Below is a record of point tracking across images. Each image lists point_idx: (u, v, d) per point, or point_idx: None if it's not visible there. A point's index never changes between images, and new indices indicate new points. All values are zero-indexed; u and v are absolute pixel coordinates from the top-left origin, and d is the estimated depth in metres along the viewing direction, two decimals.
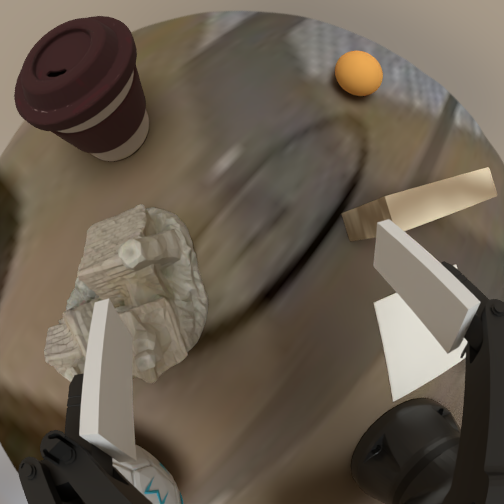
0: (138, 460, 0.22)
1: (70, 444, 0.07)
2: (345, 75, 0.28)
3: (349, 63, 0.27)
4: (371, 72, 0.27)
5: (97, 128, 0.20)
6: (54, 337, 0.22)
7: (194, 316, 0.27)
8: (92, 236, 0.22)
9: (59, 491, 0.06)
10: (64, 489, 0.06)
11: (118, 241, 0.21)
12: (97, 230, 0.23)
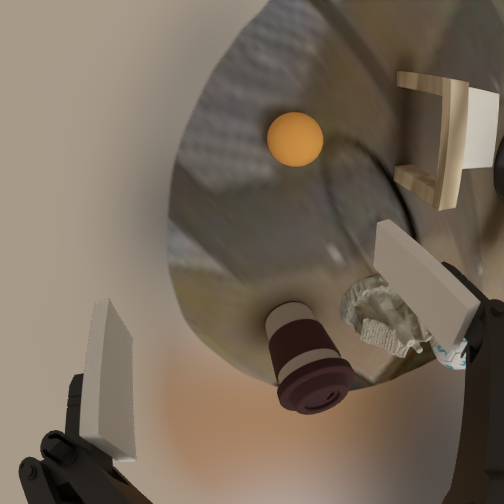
0: None
1: (70, 444, 0.07)
2: (305, 164, 0.30)
3: (300, 163, 0.28)
4: (317, 144, 0.27)
5: (340, 356, 0.38)
6: None
7: None
8: (369, 341, 0.44)
9: (59, 491, 0.06)
10: (64, 489, 0.06)
11: (384, 334, 0.41)
12: (367, 339, 0.43)
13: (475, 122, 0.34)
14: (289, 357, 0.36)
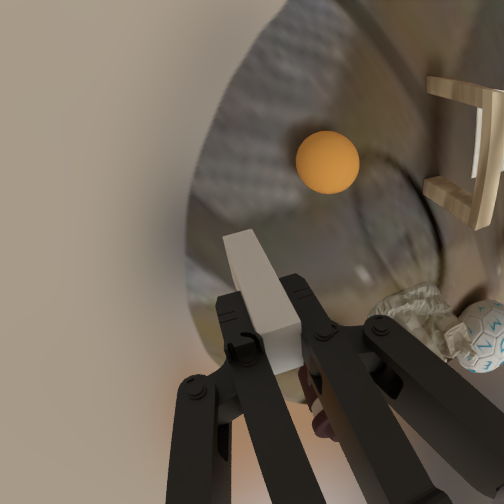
0: (478, 324, 0.44)
1: (255, 349, 0.10)
2: None
3: (335, 191, 0.25)
4: (355, 169, 0.24)
5: None
6: None
7: (433, 296, 0.42)
8: None
9: (225, 408, 0.09)
10: (233, 403, 0.09)
11: None
12: None
13: None
14: None
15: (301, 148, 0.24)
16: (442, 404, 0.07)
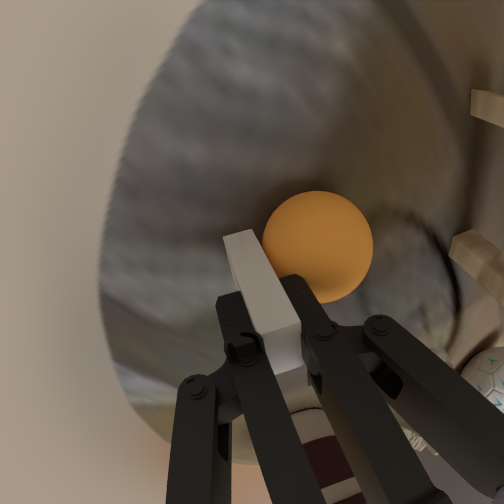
0: (488, 381, 0.35)
1: (256, 349, 0.10)
2: None
3: (330, 301, 0.15)
4: (366, 267, 0.14)
5: None
6: None
7: None
8: None
9: (225, 408, 0.09)
10: (233, 404, 0.09)
11: (409, 436, 0.28)
12: None
13: None
14: None
15: (270, 229, 0.14)
16: (442, 404, 0.07)
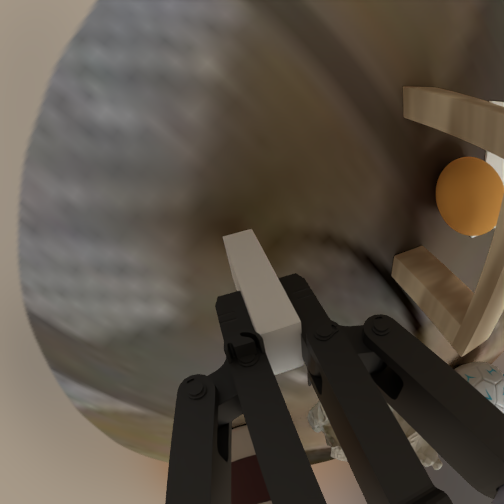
0: None
1: (255, 349, 0.10)
2: None
3: (484, 233, 0.17)
4: None
5: None
6: None
7: None
8: (342, 459, 0.30)
9: (225, 408, 0.09)
10: (233, 404, 0.09)
11: None
12: (340, 458, 0.30)
13: None
14: None
15: (457, 180, 0.16)
16: (442, 404, 0.07)
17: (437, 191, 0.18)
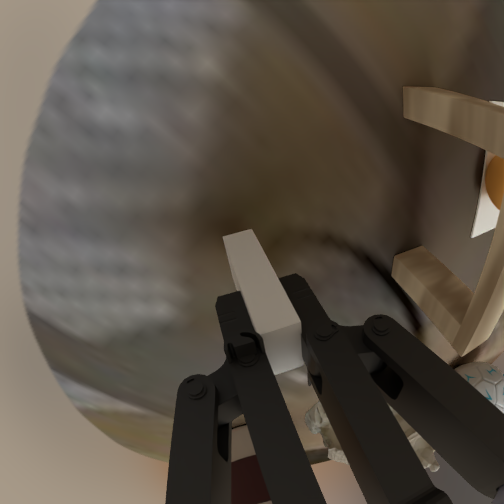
0: None
1: (255, 349, 0.10)
2: None
3: None
4: None
5: None
6: None
7: None
8: (340, 460, 0.31)
9: (225, 408, 0.09)
10: (233, 404, 0.09)
11: None
12: (337, 459, 0.30)
13: None
14: None
15: None
16: (442, 404, 0.07)
17: None
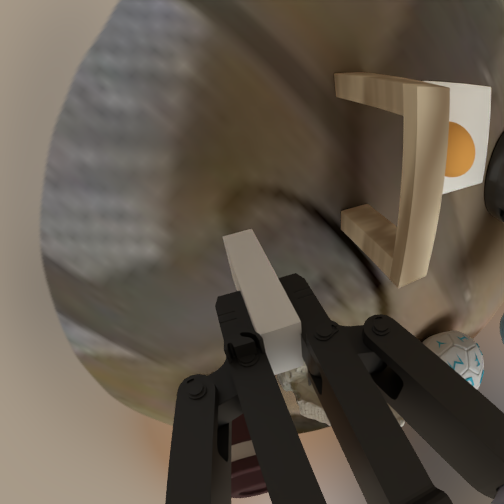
0: None
1: (255, 349, 0.10)
2: None
3: None
4: None
5: None
6: None
7: None
8: (311, 417, 0.37)
9: (225, 408, 0.09)
10: (233, 404, 0.09)
11: (325, 415, 0.34)
12: (308, 415, 0.36)
13: None
14: None
15: (470, 136, 0.22)
16: (442, 404, 0.07)
17: (473, 156, 0.22)
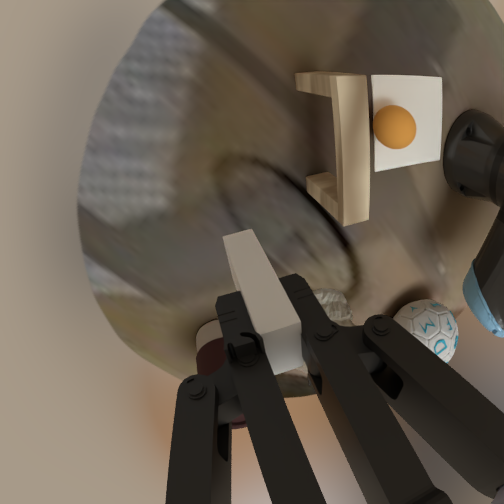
0: (408, 325, 0.49)
1: (255, 349, 0.10)
2: None
3: None
4: None
5: None
6: None
7: (330, 303, 0.46)
8: None
9: (225, 409, 0.09)
10: (233, 403, 0.09)
11: None
12: None
13: (410, 113, 0.34)
14: None
15: None
16: (442, 404, 0.07)
17: (413, 130, 0.30)
